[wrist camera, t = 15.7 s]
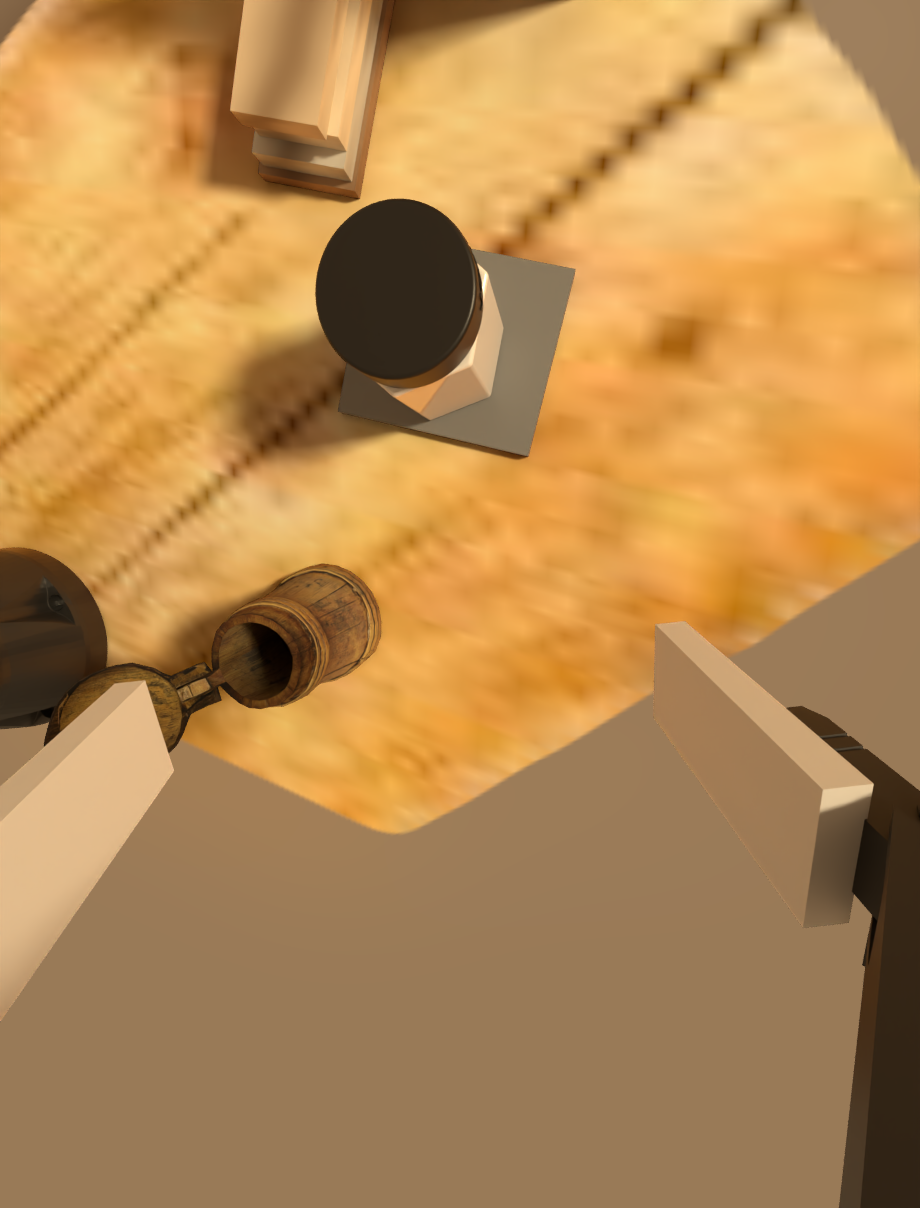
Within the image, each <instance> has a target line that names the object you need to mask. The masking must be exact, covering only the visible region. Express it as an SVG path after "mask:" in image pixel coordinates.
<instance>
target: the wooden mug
mask: <svg viewBox="0 0 920 1208" xmlns="http://www.w3.org/2000/svg"><path fill="white" fill-rule="evenodd" d="M380 637H381V617H380V612H379V607H378V605H377V602H376V600H375V598H374V596H373V593H372V592H371V591H370V589H369V588H368V587H367V586H366V584H365V583H364V582H363V581H362V580H361V579H360V578H358V577H357V576H356V575H354V574H353V573H352V572H351V571H348V570H346V569H344V568H341V567H339V566H336V565H329V564H319V565H314V566H310V567H307V568H305V569H303V570H301V571H299V572H297V573H295V574H293V575H292V576H290V577H288V578H286V579H285V580H284V581H282V582H281V583H280V584H279V585H278V587H277V588H276V589H275V590H274V591H273V592H271V593H270V594H268V595H267V596H265V597H264V598H261V599H257V600H255V601H252V602H249V603H248V604H246V605H244V606H243V607H241V608H239V609H238V610H236V611H235V612H234V613H233V614H231V615H230V616H229V618H228V619H227V620H226V621H225V622H224V623H223V624H222V625H221V626H220V628H219V629H218V630H217V631H216V634H215V638H214V642H213V646H212V668H213V671H211V670H210V668H209V667H208V666H207V665H206V663H205V662H203V663H200V664H196V665H194V666H192V667H190V668H188V669H186V670H183V671H181V672H179V673H176V674H174V675H172V676H170V675H167V674H164V673H162V672H160V671H158V670H156V669H155V668H152V667H148V666H143V665H139V664H135V663H128V664H121V665H116V666H112V667H108V668H104V669H101V670H99V671H96V672H94V673H91V674H89V675H88V676H86V677H84V678H82V679H80V680H79V681H77V682H76V683H75V684H74V685H73V686H72V687H71V688H69V689H68V690H67V691H66V692H65V693H64V695H63V696H62V697H61V699H60V700H59V702H58V703H57V705H56V706H55V708H54V711H53V713H52V716H51V718H50V721H49V725H48V728H47V733H46V736H45V742H44V747H45V746H46V745H47V744H48V743H49V742H50V741H51V740H52V739H54V738H55V737H56V736H57V735H58V734H59V733H60V732H61V731H63V730H64V729H65V728H66V727H67V726H68V725H69V724H70V723H71V722H73V721H74V720H75V719H76V718H77V717H78V716H79V715H80V714H82V713H83V712H84V711H85V710H86V709H87V708H88V707H89V706H90V705H92V704H93V703H94V702H95V701H96V700H97V699H98V698H99V697H101V696H102V695H103V694H104V693H105V692H106V691H107V690H108V689H109V688H111V687H112V686H113V685H114V684H116V683H125V682H134V681H143V680H145V681H146V685H147V688H148V691H149V694H150V697H151V700H152V703H153V707H154V710H155V713H156V716H157V719H158V722H159V725H160V729H161V732H162V735H163V738H164V741H165V744H166V747H167V751H168V754H169V753H170V752H171V751H172V750H173V749H174V748H175V747H176V746H177V744H178V742H179V741H180V739H181V737H182V735H183V733H184V730H185V727H186V725H187V722H188V720H189V718H190V715H191V714H192V713H194V712H196V711H198V710H200V709H202V708H204V707H206V706H208V705H211V704H213V703H216V702H219V701H221V697H220V693H219V690H218V686H221V687H222V688H223V689H224V690H225V691H226V692H227V693H228V694H229V695H230V696H231V697H232V698H234V699H235V700H236V701H237V702H239V703H240V704H242V705H244V706H246V707H248V708H257V709H262V708H267V707H283V706H286V705H288V704H290V703H293V702H295V701H297V700H299V699H301V698H303V697H305V696H307V695H308V694H309V693H310V692H311V691H312V690H313V689H314V688H315V687H316V686H317V685H319V684H321V683H326V682H331V681H335V680H337V679H339V678H342V677H344V676H346V675H348V674H349V673H351V672H352V671H353V670H355V669H356V668H357V667H359V666H360V665H361V664H362V663H363V662H364V661H365V660H367V659H368V658H369V657H370V656H371V655H372V654H373V653H374V652H375V651H376V648H377V645H378V643H379V640H380Z"/></svg>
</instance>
